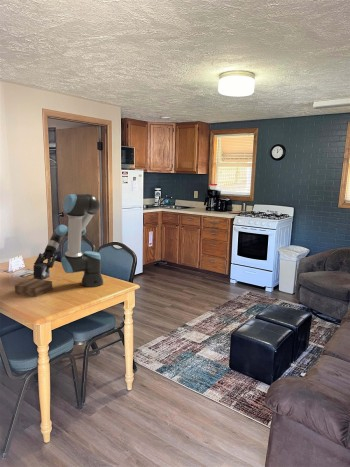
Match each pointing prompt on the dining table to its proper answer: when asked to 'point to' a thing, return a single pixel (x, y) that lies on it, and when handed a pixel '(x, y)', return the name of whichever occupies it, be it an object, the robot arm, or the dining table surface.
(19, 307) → the dining table surface
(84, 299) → the dining table surface
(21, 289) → the walnut block
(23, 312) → the dining table surface
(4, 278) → the dining table surface
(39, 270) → the small box
